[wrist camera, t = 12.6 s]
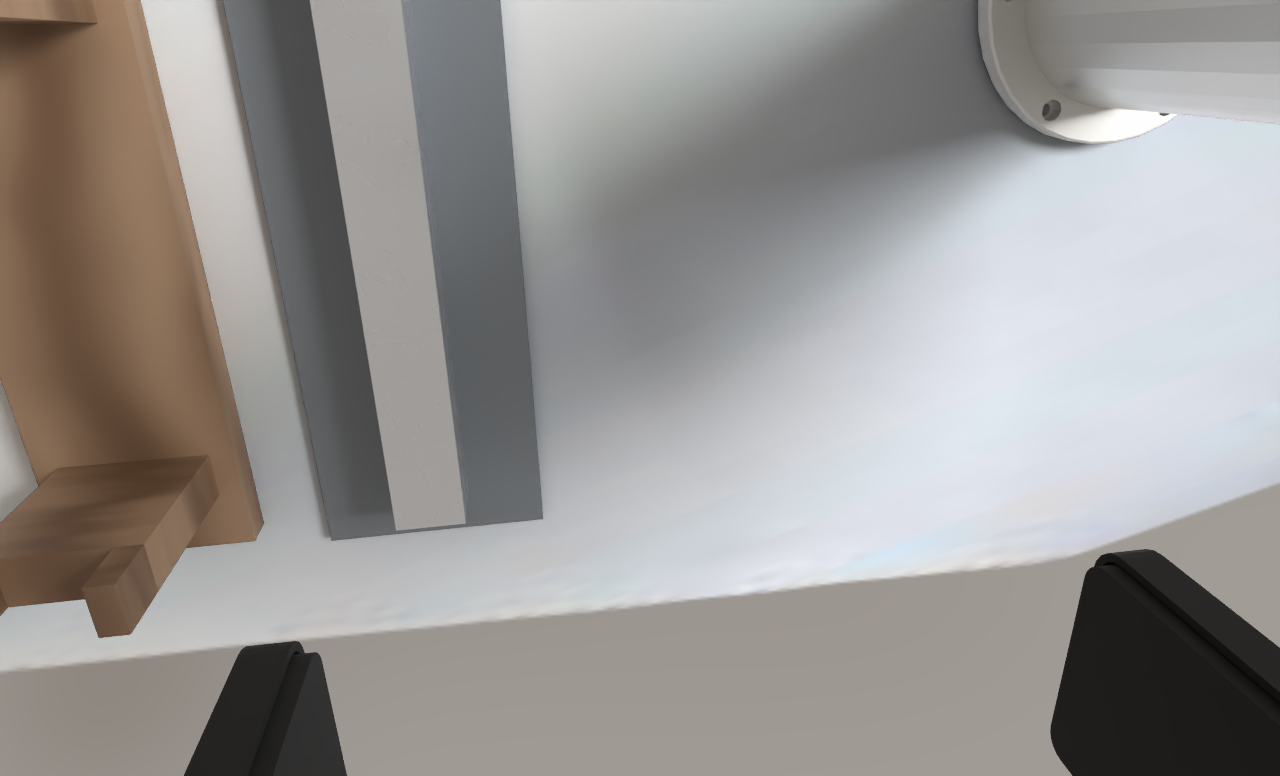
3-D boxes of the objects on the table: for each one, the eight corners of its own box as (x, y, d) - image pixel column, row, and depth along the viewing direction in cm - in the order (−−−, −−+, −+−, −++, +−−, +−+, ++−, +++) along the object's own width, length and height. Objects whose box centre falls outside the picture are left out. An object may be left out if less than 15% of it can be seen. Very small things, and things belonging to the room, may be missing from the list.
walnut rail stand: (112, -118, 29) (-97, -207, 19) (263, 523, 39) (180, 688, 29) (-144, -118, 28) (-510, -212, 18) (80, 541, 38) (-73, 719, 28)
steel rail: (398, -89, 30) (387, -103, 27) (468, 490, 39) (465, 523, 36) (312, -88, 29) (292, -103, 27) (403, 496, 39) (395, 530, 36)
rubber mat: (487, -150, 30) (487, -153, 29) (542, 513, 41) (542, 518, 40) (196, -152, 29) (192, -155, 28) (333, 534, 39) (331, 540, 39)
